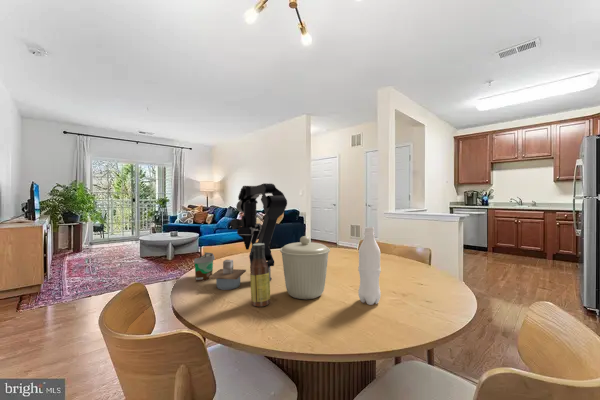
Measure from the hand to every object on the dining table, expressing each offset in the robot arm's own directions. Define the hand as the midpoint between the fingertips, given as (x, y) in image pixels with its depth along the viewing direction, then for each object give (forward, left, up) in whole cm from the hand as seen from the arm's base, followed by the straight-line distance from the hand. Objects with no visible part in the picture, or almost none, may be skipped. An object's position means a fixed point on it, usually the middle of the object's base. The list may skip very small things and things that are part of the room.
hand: (250, 247), depth 124 cm
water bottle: (-49, +28, -12) cm, 58 cm away
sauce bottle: (-13, +33, -12) cm, 38 cm away
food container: (+17, +8, -12) cm, 22 cm away
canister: (-27, +23, -12) cm, 37 cm away
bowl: (+4, +17, -12) cm, 21 cm away
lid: (+4, +17, -8) cm, 19 cm away
